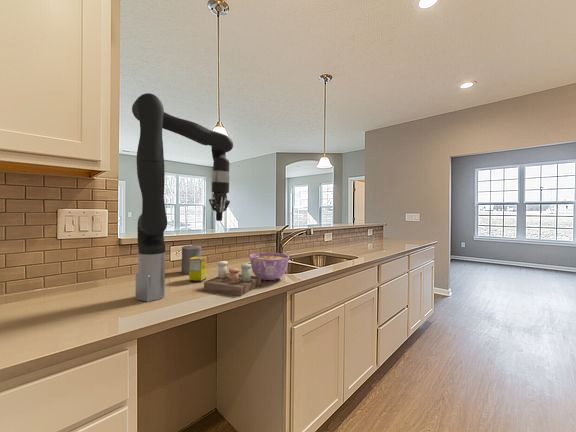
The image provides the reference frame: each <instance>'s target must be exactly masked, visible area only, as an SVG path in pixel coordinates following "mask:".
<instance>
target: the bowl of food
mask: <svg viewBox="0 0 576 432" xmlns="http://www.w3.org/2000/svg"><path fill="white" fill-rule="evenodd" d="M249 260H250V264H251V270H252V273H253V275H254V276H257V277H261V281H265V280H274V281H276V280H275V279H277V280H278V279H279V278H282V277H283V276H284V275H285V273H286V271H287V268H288V264H289V261H290V255H288V254H286V253H280V252H255V253H251V254H250V255H249Z"/></svg>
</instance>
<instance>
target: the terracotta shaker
mask: <svg viewBox="0 0 576 432" xmlns="http://www.w3.org/2000/svg"><path fill="white" fill-rule="evenodd" d="M239 272H240V268H237V267H231V268H229V269H228V273H230V281H238V274H239Z"/></svg>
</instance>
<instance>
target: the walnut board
mask: <svg viewBox="0 0 576 432" xmlns="http://www.w3.org/2000/svg"><path fill="white" fill-rule="evenodd" d="M241 280H242V273H238V281H230V272H227V278H224V279H220V278H218V276H216V277H213V278H210V279H208V280H204V281H203V291H208V292H214V293H221V294H225V295H226V294H227V295H231V296H232V295H233V296H239V297H242V296H244V295H245V294H247V293H249V292H250V291H252V290H254V289H255V288H258V287H260V286H261V285H262V279H261V277H257V276H256V275H250V281H249V282H242V281H241ZM257 286H258V287H257Z"/></svg>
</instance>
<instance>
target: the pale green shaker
mask: <svg viewBox="0 0 576 432" xmlns="http://www.w3.org/2000/svg"><path fill="white" fill-rule="evenodd" d="M240 268H241V274H242V280H241V281H242V282H249V281H250V276H251V274H252V273H251V272H252V271H251V270H252V266H251V263H241V264H240Z"/></svg>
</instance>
